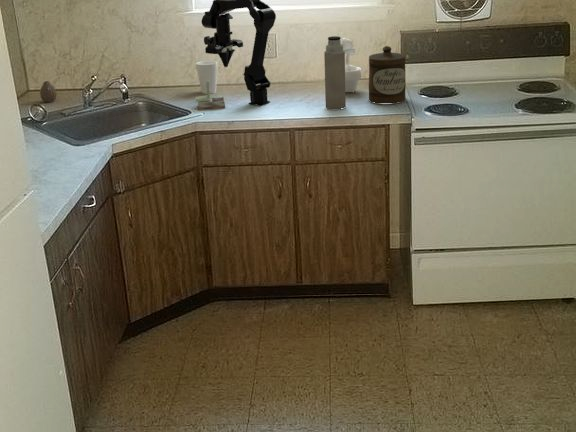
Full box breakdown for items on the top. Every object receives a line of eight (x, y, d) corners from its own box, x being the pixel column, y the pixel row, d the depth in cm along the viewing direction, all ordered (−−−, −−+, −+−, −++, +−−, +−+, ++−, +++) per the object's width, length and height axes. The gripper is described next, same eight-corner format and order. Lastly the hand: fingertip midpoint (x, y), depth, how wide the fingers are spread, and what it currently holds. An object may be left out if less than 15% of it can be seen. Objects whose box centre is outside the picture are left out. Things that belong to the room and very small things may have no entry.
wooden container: (374, 106, 322) (374, 51, 313) (364, 97, 335) (364, 44, 327) (410, 103, 324) (411, 48, 316) (398, 94, 337) (399, 41, 329)
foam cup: (218, 94, 352) (216, 64, 347) (197, 94, 352) (194, 65, 347) (220, 89, 361) (218, 60, 356) (199, 89, 361) (197, 60, 356)
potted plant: (332, 89, 351) (331, 31, 342) (359, 87, 352) (359, 29, 342) (336, 95, 340) (335, 36, 330) (363, 94, 340) (363, 34, 331)
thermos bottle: (331, 104, 327) (329, 34, 317) (349, 106, 323) (348, 35, 313) (322, 108, 321) (320, 38, 310) (340, 110, 317) (338, 39, 307)
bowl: (212, 102, 334) (212, 97, 333) (212, 106, 329) (212, 101, 328) (197, 103, 334) (197, 98, 333) (198, 107, 328) (197, 102, 327)
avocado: (49, 99, 357) (46, 79, 353) (61, 100, 353) (58, 80, 350) (38, 102, 351) (34, 82, 348) (49, 104, 348) (46, 84, 345)
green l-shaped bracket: (210, 97, 333) (208, 79, 330) (210, 100, 328) (209, 82, 325) (195, 98, 333) (194, 80, 330) (195, 101, 327) (194, 83, 324)
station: (224, 103, 336) (223, 96, 335) (225, 108, 328) (224, 101, 327) (198, 105, 335) (197, 98, 334) (198, 110, 327) (197, 103, 326)
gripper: (222, 25, 346) (224, 61, 352) (193, 32, 332) (196, 69, 338) (242, 26, 340) (245, 63, 346) (214, 33, 326) (217, 72, 332)
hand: (225, 67), depth 341 cm, fingers closed
